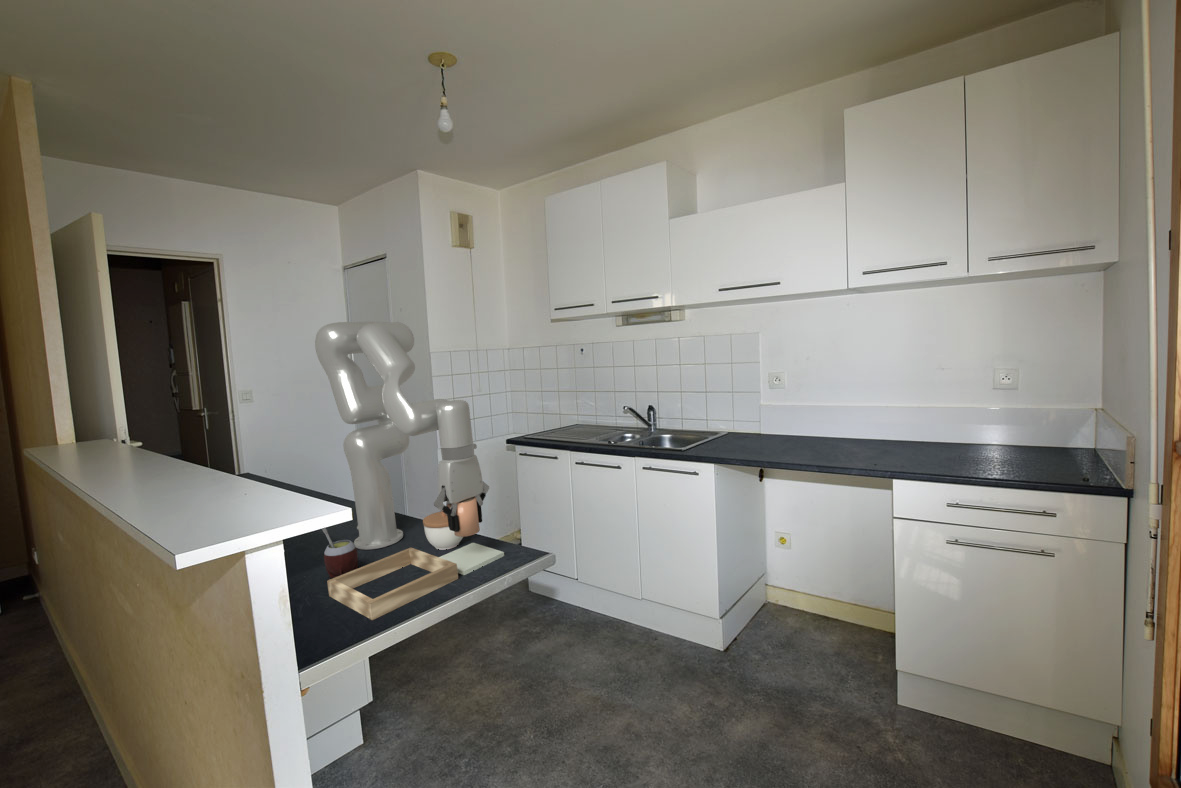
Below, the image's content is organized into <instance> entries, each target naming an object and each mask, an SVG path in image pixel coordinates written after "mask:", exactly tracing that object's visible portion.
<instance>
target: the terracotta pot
mask: <svg viewBox="0 0 1181 788" xmlns="http://www.w3.org/2000/svg"><path fill="white" fill-rule="evenodd" d="M451 507H452V504H451ZM456 515H458V518H459V527H460V530H459V531H458V532H455V531H454V535H455V536H459V537H463V538H464V537H465V538H466V537H470V536H474V535H476V534H478V533H479V532H480V529H481V528H480V523H479V518H478V509H477V500H476V497H473V498H470V499H467V500H464V501H461V502H459V503H458V504H457V510H456Z"/></svg>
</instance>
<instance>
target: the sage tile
mask: <svg viewBox="0 0 1181 788" xmlns="http://www.w3.org/2000/svg"><path fill="white" fill-rule="evenodd" d="M438 557H439V558H442V559H445V560H447V561H450V562H453V563H456V564H457V571H458V575H459V574H460V575H462V576H466V575H467V574H470V573H472V572H474V571H476V570H478V569H480V568H483V567H485V566H487V565H489V564H491V563H493V562H495V561H497V560H499V559H501V558H503V557H505V552H504V551H501V550H498V549H495V548H492V547H488V546H486V545H482V544H479V543H475V542H471V543H469V544H467V545H464V546H462V547H460V548H457V549H455V550H453V551H452V550H451V551H450V552H448V553H446V554H443V555H441V556H438ZM482 566H483V567H482ZM473 570H474V571H473Z"/></svg>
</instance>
